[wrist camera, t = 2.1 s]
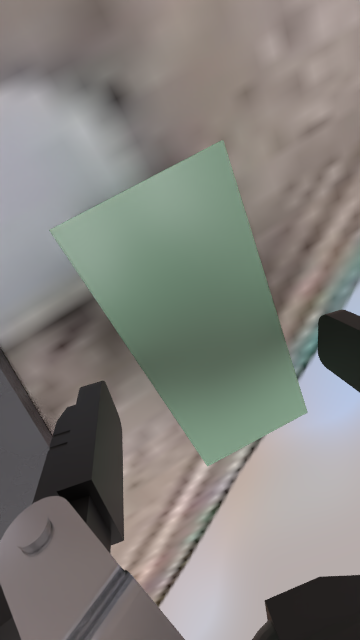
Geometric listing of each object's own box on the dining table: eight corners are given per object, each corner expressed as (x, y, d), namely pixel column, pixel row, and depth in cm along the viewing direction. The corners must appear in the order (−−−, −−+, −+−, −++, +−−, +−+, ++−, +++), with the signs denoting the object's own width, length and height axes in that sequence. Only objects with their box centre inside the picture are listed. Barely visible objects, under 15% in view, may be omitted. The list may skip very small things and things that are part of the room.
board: (75, 222, 12) (48, 229, 7) (182, 166, 12) (222, 139, 7) (183, 398, 17) (207, 466, 13) (257, 359, 17) (307, 412, 13)
